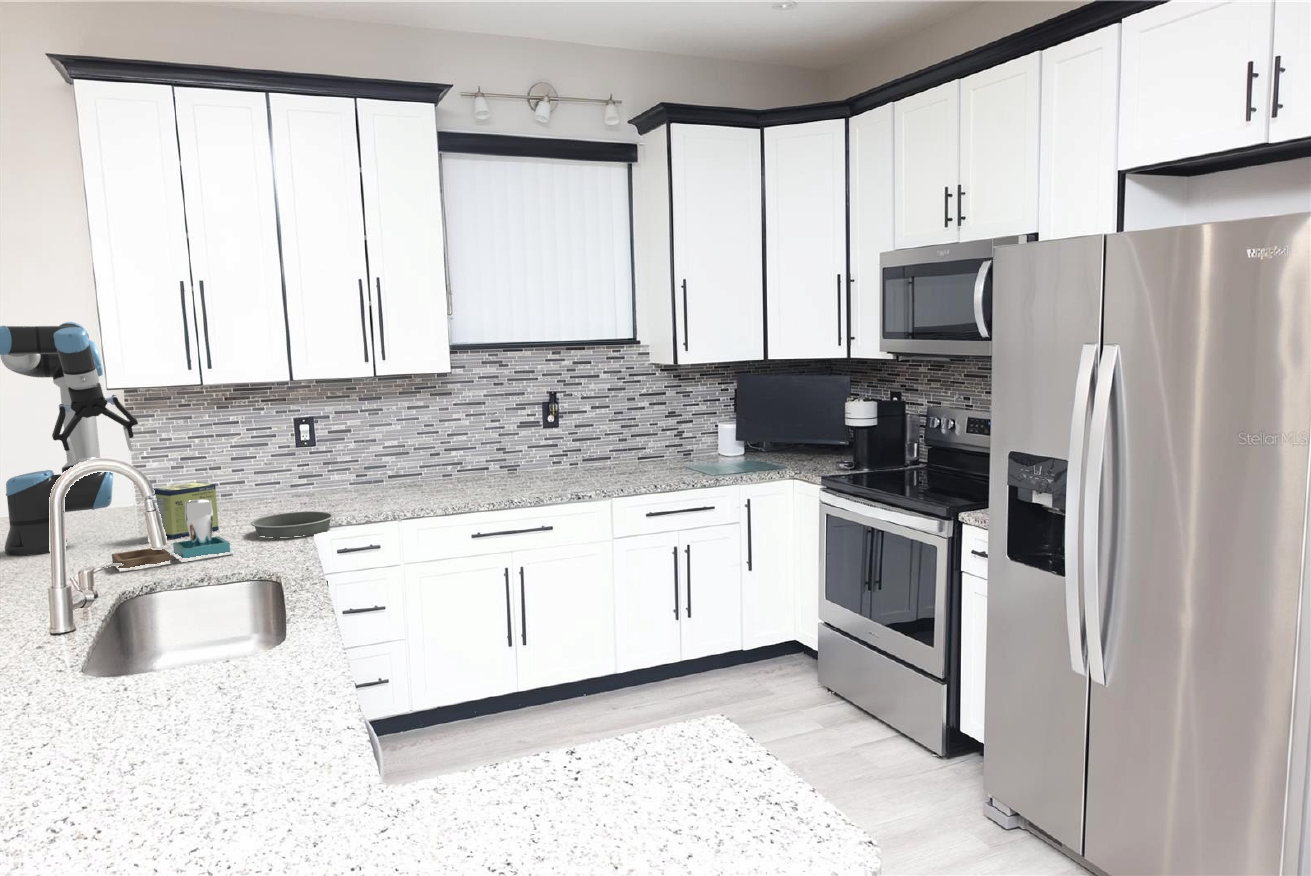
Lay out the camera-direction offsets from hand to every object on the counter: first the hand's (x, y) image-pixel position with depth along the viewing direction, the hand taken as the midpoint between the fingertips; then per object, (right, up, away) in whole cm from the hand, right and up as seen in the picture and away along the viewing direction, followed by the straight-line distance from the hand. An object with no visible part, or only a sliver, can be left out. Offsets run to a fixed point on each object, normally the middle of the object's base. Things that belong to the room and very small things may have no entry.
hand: (102, 454), depth 240 cm
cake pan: (+40, -26, +33) cm, 58 cm away
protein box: (+5, -27, +34) cm, 43 cm away
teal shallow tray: (+27, -29, +2) cm, 40 cm away
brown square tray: (+15, -30, -7) cm, 35 cm away
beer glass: (+27, -29, +2) cm, 39 cm away
